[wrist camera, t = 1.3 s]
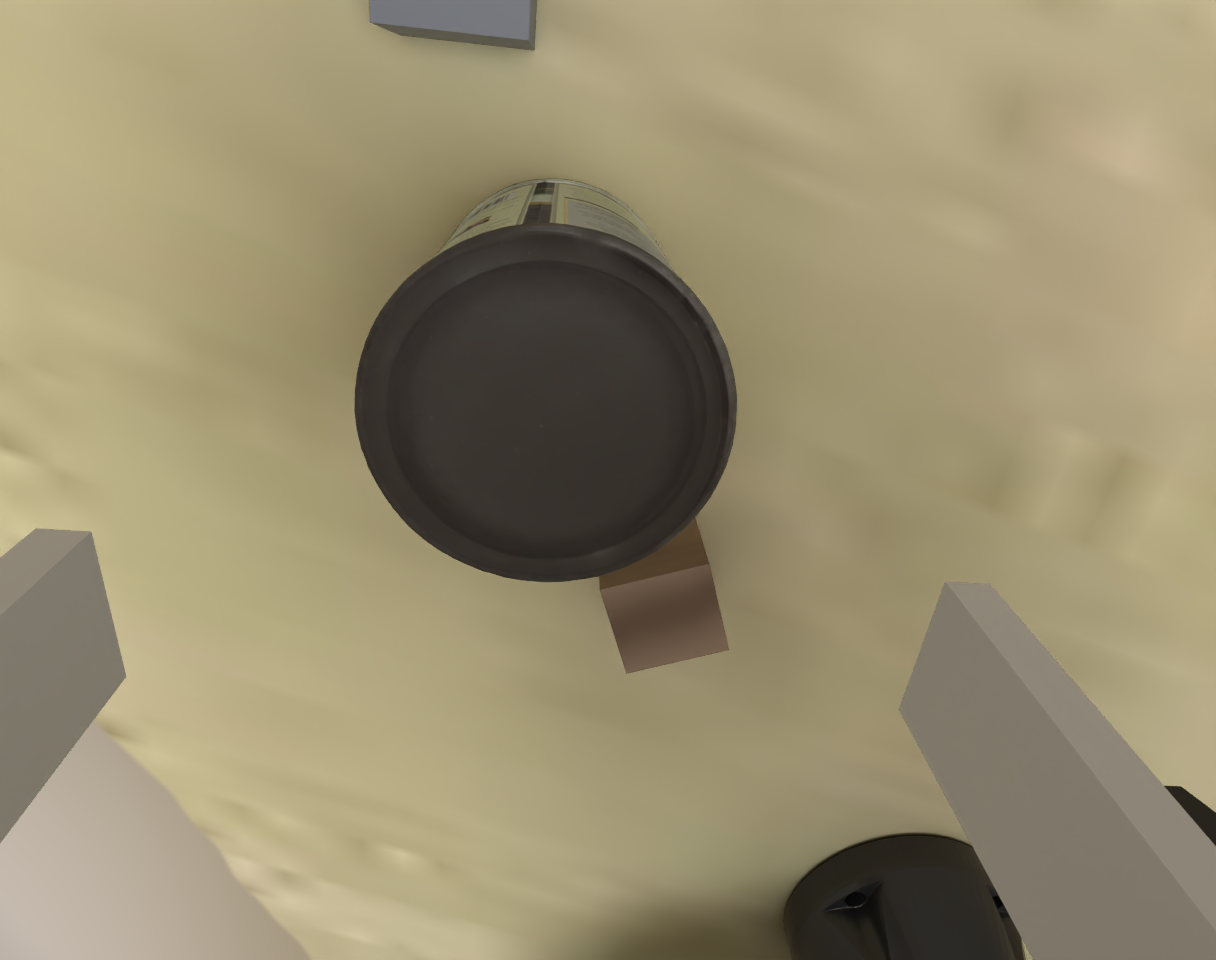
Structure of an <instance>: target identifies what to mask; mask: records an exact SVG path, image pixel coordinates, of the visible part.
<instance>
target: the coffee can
mask: <svg viewBox="0 0 1216 960" xmlns="http://www.w3.org/2000/svg"><path fill="white" fill-rule="evenodd" d="M736 411H737V394H736V385H735V378H734V373H733V369H732V365H731V362H730V358H729V355H728V351H727V348H726V346H725V343H724V341H723V339H722V337H721V335H720V333H719V331H718V328H717V327H716V325H715V323H714V321H713V319H712V317H711V316H710V314H709V312H708V311H707V309H706V308H705V306H704V305H703V304H702V303H701V301H700V300H699V299H698V297H697V296H696V295H695V294H694V292H693V291H692V290H691V289H690V288H689V287H688V286H687V285H686V284H685V283H684V282H683V281H682V279H680V278H679V277H678V276H677V275H676V273H675V272H674V270H673V269H672V267H671V265H670V264H669V262H668V261H667V260H666V258H665V257H664V255H663V254H662V252H661V250H660V247H659V245H658V243H657V242H656V240H655V238H654V236H653V235H652V233H651V232H650V231H649V229H648V228H647V227H646V225H645V224H644V222H643V221H642V220H641V219H640V218H639V217H638V216H637V215H636V214H635V213H634V212H633V211H632V210H631V209H630V208H629V207H627V206H626V205H625V204H623V203H622V202H621V201H619V200H618V199H616V198H615V197H613V196H612V195H610V194H609V193H607V192H606V191H603V190H601V189H598V188H595V187H592V186H590V185H587V184H585V183H580V182H576V181H571V180H565V179H540V180H532V181H526V182H522V183H519V184H515V185H511V186H510V187H508V188H506V189H503V190H501V191H499V192H497V193H496V194H494V195H492V196H490V197H489V198H487V199H486V200H485V201H483V202H482V203H480V204H479V205H478V206H477V207H476V208H475V209H474V210H472V211H471V212H470V213H469V214H468V215H467V217H466V218H465V219H464V220H463V221H462V222H461V224H460V225H459V226H458V228H457V229H456V230H455V232H454V234H453V235H452V237H451V238H450V239H449V240H448V242H447V243H446V244H445V245H444V246H443V247H442V249H441V250H440V251H439V252H438V253H437V254H436V255H435V256H434V257H433V258H432V259H431V260H430V261H428V262H427V263H426V264H424V265H423V266H422V267H420V268H419V269H418V270H417V271H415V272H414V273H413V274H412V275H411V276H410V277H409V278H407V279H406V280H405V281H404V282H403V283H402V284H401V286H400V287H399V288H398V289H397V290H396V292H395V293H394V294H393V295H392V297H391V298H390V299H389V300H388V302H387V303H386V304H385V306H384V307H383V309H382V310H381V311H380V313H379V315H378V317H377V318H376V320H375V322H374V324H373V326H372V328H371V330H370V332H369V335H368V337H367V340H366V342H365V346H364V349H363V352H362V355H361V359H360V363H359V367H358V372H357V379H356V387H355V418H356V426H357V432H358V436H359V441H360V445H361V449H362V451H363V453H364V456H365V459H366V462H367V465H368V467H369V469H370V471H371V473H372V475H373V477H374V479H375V481H376V483H377V485H378V486H379V488H380V490H381V491H382V493H383V494H384V496H385V497H386V499H387V500H388V502H389V503H390V504H391V506H392V507H393V509H394V510H395V511H396V512H397V513H398V514H399V516H400V517H401V518H402V519H403V520H404V521H405V523H406V524H407V525H408V526H409V527H410V528H411V529H412V530H414V531H415V532H416V533H417V534H418V535H420V536H421V537H422V538H423V539H424V540H425V541H427V542H428V543H430V544H431V545H433V546H434V547H436V548H437V549H439V550H440V551H442V552H443V553H445V554H447V555H449V556H451V557H452V558H454V559H456V560H458V561H460V562H463V563H465V564H467V565H470V566H472V567H474V568H477V569H479V570H482V571H485V572H489V573H493V574H496V575H499V576H502V577H506V578H512V579H518V580H526V581H536V582H563V581H572V580H578V579H586V578H591V577H597V576H601V575H604V574H607V573H610V572H613V571H616V570H619V569H622V568H624V567H627V566H629V565H631V564H633V563H635V562H637V561H640V560H641V559H643V558H645V557H647V556H649V555H650V554H652V553H654V552H656V551H657V550H658V549H660V548H661V547H663V546H664V545H665V544H667V543H668V542H669V541H671V540H672V539H673V538H675V537H676V536H677V535H678V534H679V533H680V532H681V531H682V530H683V529H684V528H685V527H687V526H688V525H689V523H690V522H691V521H692V520H693V519H694V518H695V517H696V515H697V514H698V513H699V512H700V510H701V509H702V508H703V507H704V505H705V504H706V503H707V501H708V500H709V499H710V497H711V495H712V493H713V492H714V490H715V488H716V486H717V484H718V482H719V480H720V478H721V476H722V474H723V472H724V469H725V467H726V465H727V462H728V458H729V455H730V452H731V448H732V445H733V439H734V433H735V427H736Z"/></svg>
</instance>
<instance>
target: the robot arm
mask: <svg viewBox="0 0 1216 960" xmlns="http://www.w3.org/2000/svg"><path fill="white" fill-rule="evenodd" d="M125 678H126V673H125V669H124V665H123V661H122V657H121V653H120V649H119V644H118V640H117V636H116V632H115V628H114V624H113V620H112V615H111V611H110V607H109V603H108V599H107V595H106V591H105V586H104V582H103V578H102V574H101V570H100V566H99V562H98V557H97V553H96V549H95V545H94V541H93V537H92V533H91V532H88V531H71V530H54V529H37V528H36V529H35V530H33V531H32V532H31V533H30V534H29V535H27V536H26V537H25V538H24V539H22V540H21V541H20V542H19V543H18V544H16V545H15V546H14V547H13V548H11V549H10V550H9V551H8V552H7V553H5V554H4V555H3V556H2V557H1V558H0V843H1V842H2V840H3V839H4V838H5V836H6V835H7V834H8V832H9V831H10V829H11V828H12V827H13V826H14V824H15V823H16V822H17V820H18V819H19V817H20V816H21V815H22V814H23V812H24V811H25V810H26V808H27V807H28V806H29V805H30V803H31V802H32V800H33V799H34V798H35V797H36V795H37V794H38V793H39V791H40V790H41V789H42V787H43V786H44V785H45V783H46V782H47V781H48V779H49V778H50V777H51V775H52V774H53V773H54V771H55V770H56V769H57V767H58V766H59V765H60V764H61V762H62V761H63V759H64V758H65V757H66V756H67V754H68V753H69V752H70V750H71V749H72V748H73V746H74V745H75V744H76V742H77V741H78V740H79V738H80V737H81V736H82V734H83V733H84V732H85V730H86V729H87V728H88V727H89V725H90V724H91V723H92V721H93V720H94V719H95V717H96V716H97V715H98V713H99V712H100V711H101V709H102V708H103V707H104V705H105V704H106V703H107V701H108V700H109V699H110V697H111V696H112V695H113V693H114V692H115V691H116V690H117V688H118V687H119V686H120V684H121V683H122V682H123V680H124V679H125ZM899 711H900V713H901V714H902V716H903V718H904V720H905V722H906V724H907V726H908V727H909V729H910V731H911V733H912V735H913V737H914V739H915V740H916V742H917V744H918V746H919V748H920V750H921V752H922V753H923V755H924V757H925V759H926V761H927V763H928V765H929V766H930V768H931V770H932V772H933V774H934V776H935V778H936V780H937V781H938V783H939V785H940V787H941V789H942V791H943V793H944V794H945V796H946V798H947V800H948V802H949V804H950V806H951V807H952V809H953V811H954V813H955V815H956V817H957V819H958V820H959V822H960V824H961V826H962V828H963V830H964V832H965V833H966V835H967V837H968V839H969V841H970V843H971V845H972V846H973V848H972V847H970V846H968V845H966V844H963V843H961V842H957V841H954V840H950V839H946V838H941V837H933V836H902V837H893V838H887V839H882V840H878V841H874V842H870V843H867V844H863V845H860V846H858V847H855V848H852V849H850V850H847V851H845V852H843V853H841V854H839V855H837V856H835V857H833V858H831V859H830V860H828V861H827V862H825V863H823V864H822V865H821V866H819V867H818V868H816V869H815V870H814V871H813V872H811V873H810V874H809V875H808V876H807V877H806V878H805V879H804V880H803V881H802V882H801V883H800V885H799V886H798V887H797V888H796V890H795V891H794V892H793V894H792V896H791V897H790V899H789V902H788V904H787V907H786V910H785V914H784V931H785V935H786V939H787V942H788V946H789V950H790V954H791V958H792V960H1026V958H1025V953H1024V948H1023V943H1022V940H1023V941H1024V943H1025V945H1026V947H1027V949H1028V951H1029V953H1030V954H1031V956H1032V958H1033V960H1216V813H1215V812H1214V811H1213V810H1211V809H1210V808H1209V807H1207V806H1206V805H1205V804H1204V803H1202V802H1201V801H1200V800H1198V799H1197V798H1196V797H1194V796H1193V795H1192V794H1190V793H1189V792H1188V791H1186V790H1185V789H1184V788H1182V787H1181V786H1163V784H1162V783H1161V782H1160V781H1159V780H1158V779H1157V777H1156V776H1155V775H1154V774H1153V773H1152V772H1151V770H1150V769H1149V768H1148V767H1147V766H1146V765H1145V763H1144V762H1143V761H1142V760H1141V759H1140V758H1139V756H1138V755H1137V754H1136V753H1135V752H1134V751H1133V750H1132V748H1131V747H1130V746H1129V745H1128V744H1127V743H1126V741H1125V740H1124V739H1123V738H1122V737H1121V736H1120V734H1119V733H1118V732H1117V731H1116V730H1115V729H1114V727H1113V726H1112V725H1111V724H1110V723H1109V722H1108V720H1107V719H1106V718H1105V717H1104V716H1103V715H1102V714H1101V712H1100V711H1099V710H1098V709H1097V708H1096V707H1095V705H1094V704H1093V703H1092V702H1091V701H1090V700H1089V698H1088V697H1087V696H1086V695H1085V694H1084V693H1083V691H1082V690H1081V689H1080V688H1079V687H1078V686H1077V684H1076V683H1075V682H1074V681H1073V680H1072V679H1071V677H1070V676H1069V675H1068V674H1067V673H1066V672H1065V671H1064V669H1063V668H1062V667H1061V666H1060V665H1059V664H1058V662H1057V661H1056V660H1055V659H1054V658H1053V657H1052V655H1051V654H1050V653H1049V652H1048V651H1047V650H1046V648H1045V647H1044V646H1043V645H1042V644H1041V643H1040V641H1039V640H1038V639H1037V638H1036V637H1035V636H1034V634H1033V633H1032V632H1031V631H1030V630H1029V629H1028V628H1027V626H1026V625H1025V624H1024V623H1023V622H1022V621H1021V619H1020V618H1019V617H1018V616H1017V615H1016V614H1015V612H1014V611H1013V610H1012V609H1011V608H1010V607H1009V605H1008V604H1007V603H1006V602H1005V601H1004V600H1003V598H1002V597H1001V596H1000V595H999V594H998V593H997V591H996V590H995V589H994V588H993V587H992V586H991V585H990V584H979V583H962V582H945V584H944V586H943V589H942V592H941V595H940V597H939V600H938V603H937V606H936V608H935V611H934V614H933V617H932V620H931V622H930V625H929V628H928V631H927V633H926V636H925V639H924V642H923V644H922V647H921V650H920V653H919V655H918V658H917V661H916V664H915V666H914V669H913V672H912V675H911V677H910V680H909V683H908V686H907V688H906V691H905V694H904V697H903V699H902V702H901V705H900V708H899Z"/></svg>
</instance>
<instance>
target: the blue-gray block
mask: <svg viewBox="0 0 1216 960" xmlns="http://www.w3.org/2000/svg"><path fill="white" fill-rule="evenodd" d="M369 9H370V23H373V24H375V25H378V26H380V27H382V28H385V29H387V30H389V31H392V32H394V33H396V34H399V35H402V36H411V37H420V38H429V39H438V40H447V41H455V42H464V43H473V44H482V45H491V46H500V47H509V48H518V49H526V50H535V30H536V9H537V0H369Z"/></svg>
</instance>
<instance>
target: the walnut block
mask: <svg viewBox="0 0 1216 960" xmlns="http://www.w3.org/2000/svg"><path fill="white" fill-rule="evenodd" d="M599 581H600V591H601V594H602V598H603V601H604V604H605V607H606V610H607V613H608V617H609V620H610V623H611V626H612V629H613V632H614V636H615V639H616V642H617V645H618V648H619V651H620V655H621V658H622V661H623V664H624V667H625V670H626V674H627V673H631V672H635V671H640V670H644V669H648V668H653V667H657V666H661V665H666V664H670V663H674V662H679V661H683V660H687V659H692V658H696V657H700V656H705V655H709V654H713V653H718V652H722V651H726V650H729V648H728V643H727V639H726V635H725V630H724V626H723V622H722V617H721V613H720V609H719V605H718V600H717V596H716V592H715V587H714V583H713V579H712V574H711V570H710V566H709V562H708V559H707V555H706V552H705V549H704V546H703V542H702V539H701V536H700V532H699V529H698V526H697V523H696V519H695V518H694V519H693V520H692V521H691V522H690V523H689V525H688V526H687V527H685V528H684V529H683V530H682V531H681V532H680V533H679V534H678V535H677V536H676V537H675V538H673V539H672V540H671V541H669V542H668V543H667V544H665V545H664V546H663V547H661V548H660V549H658V550H657V551H656V552H654V553H652V554H650V555H649V556H647V557H645V558H643V559H641V560H640V561H637V562H635V563H633V564H631V565H629V566H627V567H624V568H622V569H619V570H616V571H613V572H610V573H607V574H604V575H601V576H599Z"/></svg>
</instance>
